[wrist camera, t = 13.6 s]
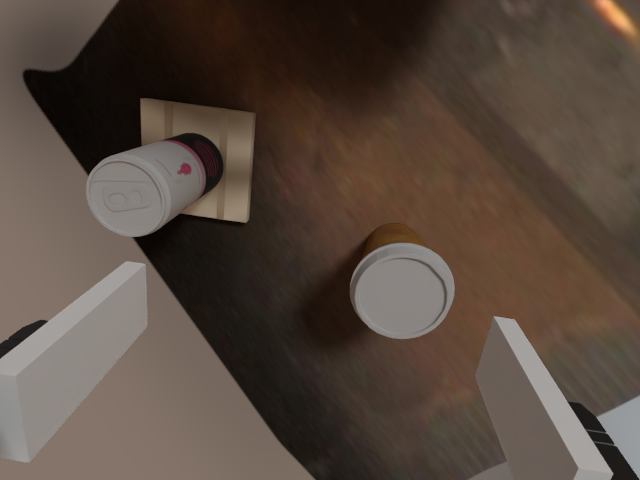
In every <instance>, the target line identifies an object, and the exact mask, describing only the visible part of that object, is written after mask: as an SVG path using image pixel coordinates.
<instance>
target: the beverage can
mask: <svg viewBox="0 0 640 480" xmlns="http://www.w3.org/2000/svg"><path fill="white" fill-rule="evenodd" d="M222 174H223V159H222V156H221V153H220V151H219V150H218V148H217V147H216V145H215V144H214V143H213V142H212V141H211V140H209V139H208V138H206V137H205V136H203V135H200V134H196V133H184V134H181V135H177V136H174V137H171V138H168V139H164V140H161V141H158V142H155V143H151V144H148V145H145V146H142V147H138V148H135V149H132V150H129V151H125V152H122V153H119V154H116V155H112V156H110V157H107V158H105V159H104V160H102V161H101V162H100V163H99V164H98V165H97V166H96V167H95V168H94V169H93V170H92V171H91V173H90V175H89V177H88V179H87V184H86V197H87V202H88V205H89V207H90V209H91V211H92V213H93V214H94V216H95V217H96V219H97V220H98V221H99V222H100V223H101V224H102V225H103V226H104V227H106V228H107V229H109V230H110V231H112V232H114V233H116V234H119V235H122V236H127V237H138V236H143V235H148V234H151V233H153V232H155V231H157V230H158V229H159V228H161V227H162V226H163V225H165V224H166V223H167V222H169V221H170V220H171V219H173V218H174V217H176V216H177V215H178V214H180V213H181V212H182V211H184V210H185V209H186V208H188V207H189V206H190V205H192V204H193V203H194V202H196V201H197V200H198V199H200V198H201V197H202V196H204V195H205V194H206V193H208V192H209V191H211V190H212V189H213V188H214V187H216V186H217V184H218V183H219V182H220V180H221V177H222Z"/></svg>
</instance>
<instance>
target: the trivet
mask: <svg viewBox="0 0 640 480" xmlns="http://www.w3.org/2000/svg"><path fill="white" fill-rule="evenodd" d="M140 100H141V138H142V146H145V145H148V144H151V143H155V142H158V141H161V140H164V139H168V138H171V137H174V136H177V135H181V134H184V133H196V134H200V135H203V136H205V137H206V138H208V139H209V140H211V141H212V142H213V143H214V144H215V145H216V147H217V148H218V150H219V151H220V153H221V156H222V159H223V174H222V177H221V180H220V182H219V183H218V184H217V186H216V187H214V188H213V189H212V190H211V191H209V192H208V193H206V194H205V195H204V196H202V197H201V198H200V199H198V200H197V201H196V202H194V203H193V204H192V205H190V206H189V207H188V208H186V209H185V210H184V211H182V212H181V213H182V214H189V215H195V216H202V217H209V218H216V219H221V220H230V221H237V222H244V223H247V221H248V220H249V210H250V195H251V180H252V165H253V150H254V135H255V119H256V113H253V112H246V111H238V110H231V109H223V108H216V107H209V106H201V105H194V104H186V103H179V102H172V101H164V100H157V99H149V98H141V99H140Z"/></svg>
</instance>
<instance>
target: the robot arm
mask: <svg viewBox="0 0 640 480" xmlns="http://www.w3.org/2000/svg"><path fill="white" fill-rule="evenodd" d="M146 327H147V287H146V264H143V263H136V262H129V261H126V262H125V263H123V264H122V265H120V266H119V267H118V268H117V269H115V270H114V271H113V272H112V273H110V274H109V275H108V276H106V277H105V278H104V279H102V280H101V281H100V282H99V283H97V284H96V285H95V286H93V287H92V288H91V289H90V290H88V291H87V292H86V293H85V294H83V295H82V296H81V297H79V298H78V299H77V300H75V301H74V302H73V303H72V304H70V305H69V306H68V307H66V308H65V309H64V310H63V311H61V312H60V313H59V314H57V315H56V316H55V317H54V318H52V319H51V320H50V321H45V320H39V321H37V322H35V323H32V324H30V325H27V326H25V327H23V328H21V329H20V330H19V331H17V332H16V333H14V334H13V335H12V336H10V337H9V339H8V340H5V341H4V342H2V343H1V344H0V456H1V458H2V459H8V460H14V461H20V462H26V463H30V462H31V460H32V459H33V458H34V457H35V456H36V455H37V454H38V452H39V451H40V450H41V449H42V448H43V447H44V445H45V444H46V443H47V442H48V441H49V440H50V438H51V437H52V436H53V435H54V434H55V433H56V432H57V430H58V429H59V428H60V427H61V426H62V425H63V423H64V422H65V421H66V420H67V419H68V418H69V416H70V415H71V414H72V413H73V412H74V411H75V409H76V408H77V407H78V406H79V405H80V404H81V403H82V401H83V400H84V399H85V398H86V397H87V395H88V394H89V393H90V392H91V391H92V390H93V389H94V388H95V386H96V385H97V384H98V383H99V382H100V380H101V379H102V378H103V377H104V376H105V375H106V374H107V372H108V371H109V370H110V369H111V368H112V367H113V365H114V364H115V363H116V362H117V361H118V360H119V359H120V357H121V356H122V355H123V354H124V353H125V351H126V350H127V349H128V348H129V347H130V346H131V345H132V343H133V342H134V341H135V340H136V339H137V338H138V337H139V335H140V334H141V333H142V332H143V331H144V329H145V328H146ZM475 379H476V381H477V384H478V387H479V389H480V392H481V394H482V397H483V400H484V402H485V405H486V408H487V410H488V413H489V415H490V418H491V421H492V423H493V426H494V428H495V431H496V434H497V436H498V439H499V441H500V444H501V447H502V449H503V452H504V455H505V457H506V460H507V462H508V465H509V468H510V470H511V473H512V475H513V478H514V480H639V478H638V477H637V475H636V474H635V473H634V471H633V470H632V468H631V467H630V465H629V464H628V463H627V461H626V460H625V458H624V457H623V455H622V454H621V452H620V451H619V449H618V448H617V447H616V446H614V443H613V441H612V439H611V438H610V437H609V435H608V434H606V431H605V429H604V428H603V427H602V425H601V424H600V422H599V421H598V419H597V418H596V417H595V416H594V415H593V414H592V413H591V412H590V411H588V410H587V409H586V408H585V407H584V406H583V405H581V404H580V403H574V402H568V401H566V399H565V397H564V396H563V394H562V393H561V391H560V390H559V388H558V386H557V385H556V383H555V382H554V380H553V379H552V377H551V376H550V374H549V372H548V371H547V369H546V368H545V366H544V365H543V363H542V361H541V360H540V358H539V357H538V355H537V354H536V352H535V351H534V349H533V347H532V346H531V344H530V343H529V341H528V340H527V338H526V336H525V335H524V333H523V332H522V330H521V329H520V327H519V326H518V324H517V322H516V321H515V319H508V318H502V317H495V316H494V317H493V320H492V323H491V327H490V330H489V333H488V336H487V340H486V343H485V346H484V349H483V353H482V356H481V359H480V362H479V366H478V369H477V372H476V376H475Z"/></svg>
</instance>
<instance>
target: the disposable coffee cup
mask: <svg viewBox="0 0 640 480" xmlns="http://www.w3.org/2000/svg"><path fill="white" fill-rule="evenodd" d="M454 289H455V287H454V279H453V276H452V273H451V271H450V269H449V267H448V266H447V264H446V263H445V262H444V261H443V259H442V258H441V257H440V256H439V255H437V254H436V253H435V252H433V251H432V250H430V249H429V248H428V247H427V246H426V245H425V244H424V242H423V241H422V240H421V239H420V238H419V236H418V235H417V234H416V233H415V232H414V231H413V230H412V229H411V228H409V227H408V226H406V225H403V224H399V223H389V224H385V225H382V226H380V227H378V228H377V229H376V230H374V231H373V232H372V234H371V235H370V236H369V238H368V240H367V244H366V247H365V250H364V253H363V256H362V259H361V261H360V263H359V264H358V266H357V267H356V269H355V270H354V273H353V276H352V279H351V282H350V298H351V303H352V305H353V308H354V310H355V312H356V313H357V315H358V316H359V317H360V319H361V320H362V321H363V322H364V323H365V324H367V325H368V326H369V327H370V328H371V329H372V330H374V331H375V332H377V333H379V334H381V335H384V336H387V337H390V338H397V339H409V338H415V337H419V336H421V335H424V334H426V333H428V332H430V331H431V330H433V329H434V328H436V327H437V326H438V325H439V324H440V323H441V322H442V321H443V319H444V318H445V316H446V315H447V313H448V310H449V308H450V306H451V305H452V301H453V298H454Z"/></svg>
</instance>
